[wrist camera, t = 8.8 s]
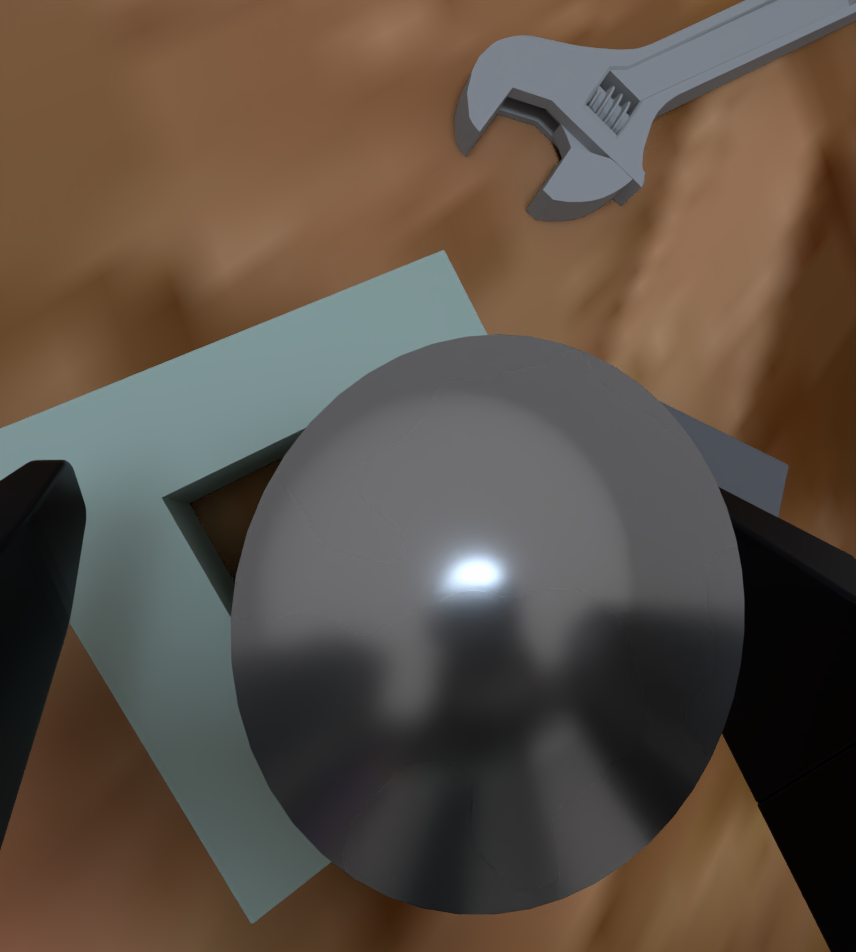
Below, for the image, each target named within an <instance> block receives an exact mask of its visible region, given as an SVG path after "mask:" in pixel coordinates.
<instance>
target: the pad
mask: <svg viewBox="0 0 856 952" xmlns="http://www.w3.org/2000/svg"><path fill="white" fill-rule="evenodd" d="M659 402H660V401H659ZM661 403H662V402H661ZM662 404H663V405H664V406H665V407H666V409H667V410H668V411H669V412H670V413H671V414H672V415H673V417H674V418H675V419H676V420H677V421H678V422H679V423H680V425H681V426H682V427H683V428H684V429H685V431H686V432H687V434H688V435H689V437H690V438H691V440H692V441H693V442H694V444H695V445H696V447H697V448H698V450H699V451H700V452H701V454H702V456H703V458H704V460H705V462H706V463H707V465H708V467H709V469H710V471H711V473H712V475H713V476H714V478H715V480H716V483H717V485H718V487H720V488H722V489H724V490H726V491H728V492H730V493H732V494H734V495H735V496H737V497H739V498H741V499H743V500H745V501H747V502H749V503H751V504H753V505H755V506H757V507H759V508H761V509H763V510H764V511H766V512H768V513H770V514H772V515H774V516H776V517H778V516H779V511H780V506H781V501H782V496H783V490H784V485H785V480H786V475H787V470H788V465H787V464H785V463H783V462H781V461H779V460H777V459H775V458H773V457H771V456H769V455H767V454H765V453H763V452H761V451H759V450H757V449H755V448H753V447H751V446H749V445H747V444H745V443H743V442H741V441H739V440H737V439H735V438H733V437H731V436H729V435H727V434H725V433H723V432H721V431H719V430H717V429H715V428H713V427H711V426H709V425H707V424H704V423H702V422H700V421H698V420H696V419H694V418H692V417H690V416H688V415H686V414H684V413H682V412H680V411H678V410H676V409H674V408H672V407H670V406H668V405H666V404H664V403H662Z"/></svg>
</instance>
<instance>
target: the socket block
mask: <svg viewBox="0 0 856 952" xmlns="http://www.w3.org/2000/svg"><path fill="white" fill-rule="evenodd" d="M481 335H487V333H486V331H485V329H484V327H483V325H482V323H481V321H480V319H479V317H478V315H477V313H476V311H475V310H474V308H473V306H472V304H471V302H470V300H469V298H468V296H467V294H466V292H465V290H464V288H463V286H462V284H461V282H460V280H459V278H458V276H457V274H456V272H455V270H454V268H453V266H452V264H451V263H450V261H449V259H448V257H447V255H446V253H445V251H444V250H442V251H440V252H437V253H435V254H432V255H430V256H427V257H425V258H422V259H420V260H417V261H415V262H412V263H410V264H408V265H405V266H403V267H400V268H398V269H395V270H393V271H390V272H388V273H385V274H383V275H380V276H378V277H375V278H373V279H370V280H368V281H365V282H363V283H360V284H358V285H355V286H353V287H351V288H348V289H346V290H343V291H341V292H338V293H336V294H333V295H331V296H328V297H326V298H323V299H321V300H318V301H316V302H313V303H311V304H308V305H306V306H303V307H301V308H298V309H296V310H294V311H291V312H289V313H286V314H284V315H281V316H279V317H276V318H274V319H271V320H269V321H266V322H264V323H261V324H259V325H256V326H254V327H251V328H249V329H246V330H244V331H241V332H239V333H237V334H234V335H232V336H229V337H227V338H224V339H222V340H219V341H217V342H214V343H212V344H209V345H207V346H204V347H202V348H199V349H197V350H194V351H192V352H189V353H187V354H184V355H182V356H180V357H177V358H175V359H172V360H170V361H167V362H165V363H162V364H160V365H157V366H155V367H152V368H150V369H147V370H145V371H142V372H140V373H137V374H135V375H132V376H130V377H127V378H125V379H123V380H120V381H118V382H115V383H113V384H110V385H108V386H105V387H103V388H100V389H98V390H95V391H93V392H90V393H88V394H85V395H83V396H80V397H78V398H75V399H73V400H70V401H68V402H66V403H63V404H61V405H58V406H56V407H53V408H51V409H48V410H46V411H43V412H41V413H38V414H36V415H33V416H31V417H28V418H26V419H23V420H21V421H18V422H16V423H13V424H11V425H9V426H6V427H4V428H1V429H0V480H2V479H3V478H5V477H6V476H8V475H9V474H11V473H12V472H14V471H16V470H17V469H19V468H20V467H22V466H23V465H25V464H26V463H28V462H30V461H33V460H66V461H68V462H69V463H70V464H71V465H72V467H73V469H74V471H75V474H76V478H77V481H78V484H79V487H80V490H81V493H82V496H83V499H84V502H85V506H86V526H85V532H84V538H83V544H82V551H81V557H80V563H79V569H78V576H77V582H76V588H75V594H74V600H73V606H72V612H71V617H70V621H69V623H70V625H71V626H72V628H73V630H74V631H75V633H76V635H77V636H78V638H79V640H80V641H81V643H82V645H83V646H84V648H85V650H86V651H87V653H88V655H89V656H90V658H91V660H92V661H93V663H94V665H95V666H96V668H97V669H98V671H99V673H100V674H101V676H102V678H103V679H104V681H105V683H106V684H107V686H108V688H109V689H110V691H111V693H112V694H113V696H114V698H115V699H116V701H117V703H118V704H119V706H120V708H121V709H122V711H123V713H124V714H125V716H126V717H127V719H128V721H129V722H130V724H131V726H132V727H133V729H134V731H135V732H136V734H137V736H138V737H139V739H140V741H141V742H142V744H143V746H144V747H145V749H146V751H147V752H148V754H149V756H150V757H151V759H152V761H153V762H154V764H155V766H156V767H157V769H158V770H159V772H160V774H161V775H162V777H163V779H164V780H165V782H166V784H167V785H168V787H169V789H170V790H171V792H172V794H173V795H174V797H175V799H176V800H177V802H178V804H179V805H180V807H181V809H182V810H183V812H184V814H185V815H186V817H187V818H188V820H189V822H190V823H191V825H192V827H193V828H194V830H195V832H196V833H197V835H198V837H199V838H200V840H201V842H202V843H203V845H204V847H205V848H206V850H207V852H208V853H209V855H210V857H211V858H212V860H213V862H214V863H215V865H216V867H217V868H218V870H219V871H220V873H221V875H222V876H223V878H224V880H225V881H226V883H227V885H228V886H229V888H230V890H231V891H232V893H233V895H234V896H235V898H236V900H237V901H238V903H239V905H240V906H241V908H242V910H243V911H244V913H245V915H246V916H247V918H248V919H249V921H250V923H251V924H253V923H254V922H256V921H257V920H258V919H259V918H261V917H262V916H263V915H264V914H266V913H267V912H268V911H270V910H271V909H272V908H273V907H275V906H276V905H277V904H278V903H280V902H281V901H282V900H284V899H285V898H286V897H287V896H289V895H290V894H291V893H292V892H294V891H295V890H296V889H298V888H299V887H300V886H301V885H303V884H304V883H305V882H306V881H308V880H309V879H310V878H312V877H313V876H314V875H315V874H317V873H318V872H319V871H320V870H322V869H323V868H324V867H326V866H327V865H328V864H329V863H331V861H330V860H329V859H328V858H326V857H325V856H324V855H322V854H321V853H320V852H319V851H318V850H317V849H316V847H315V846H314V845H313V844H312V843H311V842H310V841H309V840H308V839H307V838H306V837H305V836H304V835H303V834H302V832H301V831H300V830H299V829H298V828H297V827H296V826H295V825H294V824H293V823H292V821H291V820H290V818H289V817H288V815H287V814H286V812H285V811H284V809H283V808H282V806H281V805H280V803H279V802H278V800H277V799H276V797H275V796H274V795H273V793H272V792H271V790H270V789H269V786H268V784H267V782H266V780H265V778H264V776H263V774H262V772H261V770H260V768H259V765H258V763H257V761H256V759H255V757H254V755H253V753H252V751H251V748H250V745H249V741H248V738H247V735H246V732H245V728H244V725H243V722H242V718H241V715H240V712H239V709H238V703H237V697H236V690H235V684H234V677H233V671H232V664H231V612H232V604H233V595H234V587H235V582H234V581H233V579H232V577H231V575H230V574H229V572H228V570H227V568H226V567H225V565H224V563H223V561H222V560H221V558H220V556H219V554H218V553H217V551H216V549H215V547H214V546H213V544H212V542H211V540H210V539H209V537H208V535H207V533H206V532H205V530H204V528H203V526H202V525H201V523H200V521H199V519H198V518H197V516H196V514H195V512H194V511H193V509H192V507H191V505H190V503H192V502H194V501H196V500H198V499H200V498H202V497H204V496H206V495H208V494H210V493H212V492H214V491H216V490H218V489H220V488H222V487H224V486H226V485H228V484H230V483H232V482H234V481H236V480H238V479H240V478H242V477H244V476H246V475H248V474H250V473H252V472H254V471H256V470H258V469H260V468H262V467H264V466H266V465H268V464H270V463H272V462H274V461H276V460H278V459H280V458H282V457H284V456H285V454H286V453H287V452H288V450H289V449H290V448H291V446H292V445H293V444H294V443H295V441H296V440H297V439H298V437H299V436H300V435H301V434H302V432H303V431H304V430H305V428H306V427H307V426H308V425H309V423H310V422H311V421H312V420H313V419H314V418H315V417H316V416H317V415H318V414H319V413H320V412H321V411H322V410H323V409H324V408H326V407H327V406H328V405H329V404H330V403H331V402H332V401H333V400H334V399H335V398H336V397H337V396H338V395H339V394H340V393H342V392H343V391H345V390H346V389H347V388H349V387H350V386H351V385H353V384H354V383H355V382H357V381H358V380H359V379H361V378H362V377H363V376H365V375H366V374H368V373H369V372H371V371H373V370H375V369H377V368H378V367H380V366H382V365H384V364H386V363H388V362H389V361H391V360H393V359H395V358H397V357H399V356H401V355H403V354H406V353H409V352H412V351H414V350H417V349H420V348H422V347H425V346H428V345H431V344H434V343H438V342H443V341H448V340H452V339H457V338H461V337H467V336H481Z"/></svg>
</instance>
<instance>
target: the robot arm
mask: <svg viewBox="0 0 856 952" xmlns="http://www.w3.org/2000/svg"><path fill="white" fill-rule="evenodd" d="M719 490H720V492H721V495H722V497H723V500H724V502H725V504H726V507H727V510H728V513H729V517H730V520H731V523H732V527H733V530H734V533H735V537H736V541H737V547H738V552H739V557H740V563H741V568H742V578H743V589H744V638H743V648H742V657H741V665H740V670H739V675H738V680H737V684H736V689H735V694H734V698H733V701H732V704H731V708H730V711H729V714H728V717H727V720H726V723H725V726H724V729H723V732H722V735H723V737H724V739H725V741H726V743H727V745H728V747H729V749H730V751H731V753H732V755H733V757H734V759H735V761H736V763H737V764H738V766H739V768H740V770H741V772H742V774H743V776H744V778H745V780H746V782H747V784H748V786H749V788H750V790H751V792H752V794H753V796H754V798H755V800H756V802H758V807H759V809H760V811H761V813H762V815H763V817H764V819H765V821H766V823H767V825H768V827H769V829H770V831H771V833H772V835H773V837H774V839H775V841H776V843H777V845H778V847H779V849H780V851H781V853H782V855H783V857H784V859H785V861H786V863H787V865H788V867H789V869H790V871H791V873H792V875H793V877H794V879H795V881H796V883H797V885H798V887H799V889H800V891H801V893H802V895H803V897H804V899H805V901H806V903H807V905H808V907H809V909H810V911H811V913H812V915H813V917H814V919H815V921H816V923H817V925H818V927H819V929H820V931H821V933H822V935H823V937H824V939H825V941H826V943H827V945H828V947H829V949H830V951H831V952H856V559H855V558H854V557H853V556H851V555H850V554H848V553H846V552H844V551H842V550H840V549H838V548H836V547H834V546H832V545H830V544H828V543H826V542H824V541H822V540H821V539H819V538H817V537H815V536H813V535H811V534H809V533H807V532H805V531H803V530H801V529H799V528H797V527H795V526H793V525H792V524H790V523H788V522H786V521H784V520H782V519H780V518H778V517H776V516H774V515H772V514H770V513H768V512H766V511H764V510H763V509H761V508H759V507H757V506H755V505H753V504H751V503H749V502H747V501H745V500H743V499H741V498H739V497H737V496H735V495H734V494H732V493H730V492H728V491H726V490H724V489H722V488H720V487H719ZM85 526H86V506H85V502H84V499H83V496H82V493H81V490H80V487H79V484H78V481H77V478H76V474H75V471H74V469H73V467H72V465H71V464H70V463H69V462H68V461H66V460H33V461H30V462H28V463H26V464H25V465H23V466H22V467H20V468H19V469H17V470H16V471H14V472H12V473H11V474H9V475H8V476H6V477H5V478H3V479H2V480H0V849H1V846H2V843H3V840H4V836H5V833H6V830H7V826H8V823H9V820H10V817H11V813H12V810H13V807H14V803H15V800H16V797H17V794H18V790H19V787H20V784H21V781H22V777H23V774H24V771H25V767H26V764H27V761H28V758H29V754H30V751H31V748H32V744H33V741H34V738H35V735H36V731H37V728H38V725H39V721H40V718H41V715H42V712H43V708H44V705H45V702H46V699H47V695H48V692H49V689H50V685H51V682H52V679H53V676H54V672H55V669H56V666H57V662H58V659H59V656H60V653H61V649H62V646H63V643H64V639H65V636H66V632H67V629H68V625H69V621H70V617H71V612H72V606H73V600H74V594H75V588H76V582H77V576H78V569H79V563H80V557H81V551H82V544H83V538H84V532H85Z"/></svg>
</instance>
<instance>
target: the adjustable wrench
mask: <svg viewBox="0 0 856 952" xmlns="http://www.w3.org/2000/svg"><path fill="white" fill-rule="evenodd" d="M854 21H856V0H745V1H743V2H741V3H739V4H737V5H735V6H732V7H730V8H728V9H726V10H724V11H722V12H720V13H717V14H715V15H713V16H711V17H709V18H707V19H704V20H702V21H700V22H698V23H696V24H694V25H692V26H689V27H687V28H685V29H683V30H681V31H679V32H677V33H674V34H672V35H670V36H668V37H666V38H664V39H662V40H659V41H657V42H655V43H653V44H651V45H648V46H644V47H641V48H638V49H627V50H615V49H602V48H590V47H583V46H577V45H571V44H567V43H562V42H557V41H552V40H548V39H543V38H538V37H534V36H513V37H508V38H505V39H501V40H499V41H497V42H495V43H493V44H492V45H491V46H490V47H489V48H488V49H487V50H486V51H485V52H484V53H483V54H481V55H480V56H479V58H478V60H477V62H476V64H475V66H474V68H473V70H472V72H471V74H470V76H469V78H468V81H467V83H466V85H465V87H464V89H463V91H462V94H461V96H460V98H459V101H458V105H457V109H456V113H455V117H454V127H455V138H456V144H457V146H458V148H459V150H460V151H461V152H462V154H463V155H464V156H465V157H466V156H467V154H468V153H469V152H470V150H471V149H472V148H473V146H474V145H475V144H476V142H477V141H478V140H479V138H480V137H481V135H482V134H483V133H484V131H485V130H486V129H487V127H488V126H489V125H490V123H491V122H492V121H493V119H494V118H495V116H496V115H497V114H498V115H501V116H505V117H508V118H511V119H515V120H518V121H521V122H525V123H528V124H531V125H535V126H536V127H537V128H538V129H539V130H540V131H541V132H542V133H543V134H544V135H545V136H546V137H547V138H548V139H549V140H550V141H551V142H552V143H553V144H554V145H555V146H556V147H557V148H558V149H559V152H560V155H561V158H562V159H561V160H560V162H559V163H558V164H557V165H556V166H555V168H554V169H553V170H552V172H551V173H550V175H549V176H548V178H547V179H546V181H545V182H544V184H543V185H542V187H541V188H540V190H539V191H538V193H537V194H536V196H535V197H534V199H533V200H532V202H531V203H530V205H529V206H528V208H527V209H526V211H527V212H528V213H529V214H530V215H531V216H532V217H533V218H534V219H536V220H543V221H567V220H574V219H577V218H580V217H584V216H586V215H588V214H590V213H592V212H594V211H595V210H597V209H599V208H600V207H602V206H603V205H604V204H606V203H607V202H609V201H610V200H611V199H612V198H613V199H614V200H615V201H616V202H617V203H618V204H619V205H620V206H621V205H622V204H624V203H625V202H626V201H627V200H628V199H629V198H630V197H632V196H633V195H634V194H635V193H636V192H637V191H638V190H639V189H641V188H642V186H643V182H644V176H645V172H644V171H643V168H642V159H643V150H644V146H645V143H646V140H647V136H648V133H649V130H650V127H651V124H652V122H653V120H654V118H656V117H658V116H660V115H662V114H664V113H666V112H668V111H670V110H672V109H674V108H676V107H678V106H680V105H682V104H684V103H686V102H689V101H691V100H693V99H695V98H697V97H699V96H701V95H703V94H705V93H707V92H709V91H711V90H713V89H715V88H718V87H720V86H722V85H724V84H726V83H728V82H730V81H732V80H734V79H736V78H738V77H740V76H742V75H744V74H746V73H749V72H751V71H753V70H755V69H757V68H759V67H761V66H763V65H765V64H767V63H769V62H771V61H773V60H775V59H777V58H780V57H782V56H784V55H786V54H788V53H790V52H792V51H794V50H796V49H798V48H800V47H802V46H804V45H806V44H808V43H811V42H813V41H815V40H817V39H819V38H821V37H823V36H825V35H827V34H829V33H831V32H833V31H835V30H837V29H840V28H842V27H844V26H846V25H848V24H850V23H852V22H854Z"/></svg>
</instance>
